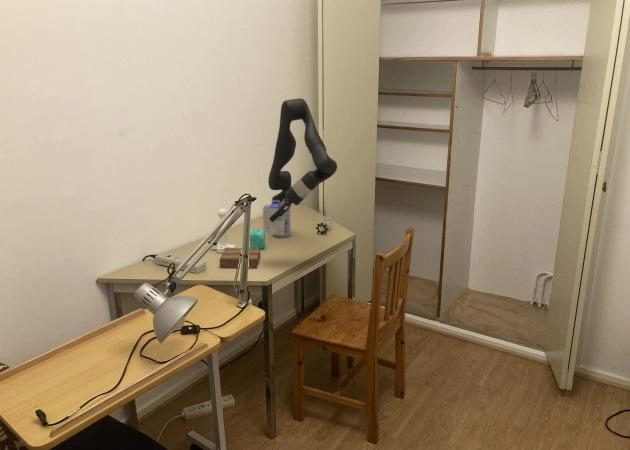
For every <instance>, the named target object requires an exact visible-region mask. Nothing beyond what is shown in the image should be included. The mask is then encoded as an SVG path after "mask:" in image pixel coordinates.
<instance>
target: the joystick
mask: <svg viewBox="0 0 630 450" xmlns="http://www.w3.org/2000/svg"><path fill="white" fill-rule="evenodd" d="M226 213H227V214H228V210H227V209H225V208H220V209H219V210H217V216H218V217H219V221H220V220H221V219H222V218H223V217H224V216H225V215H226ZM225 248H236V245H235V244H230V243H229V242H228V233H227V231H226V233H225V234H224V235H223V237H222V238H221V239H220V238H219V242H218V244H217V246H214V247H213V248H212V249H211V250H212V251H213V250H216V252H217V253H218V254H222V253H223V251H224V249H225Z"/></svg>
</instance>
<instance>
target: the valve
mask: <svg viewBox="0 0 630 450" xmlns="http://www.w3.org/2000/svg"><path fill="white" fill-rule="evenodd" d="M332 219H333V218H332V217H331V216H325V217H324V222H323V221H322V222H320V223H319V222H318V223H317V224H316V225H317V226H316V227H315V230H317V231H316V233H317V234H319V233H320V236H322V235H326V234H327V231H331V230H332V228H333V227H332V226H333V222H332Z"/></svg>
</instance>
